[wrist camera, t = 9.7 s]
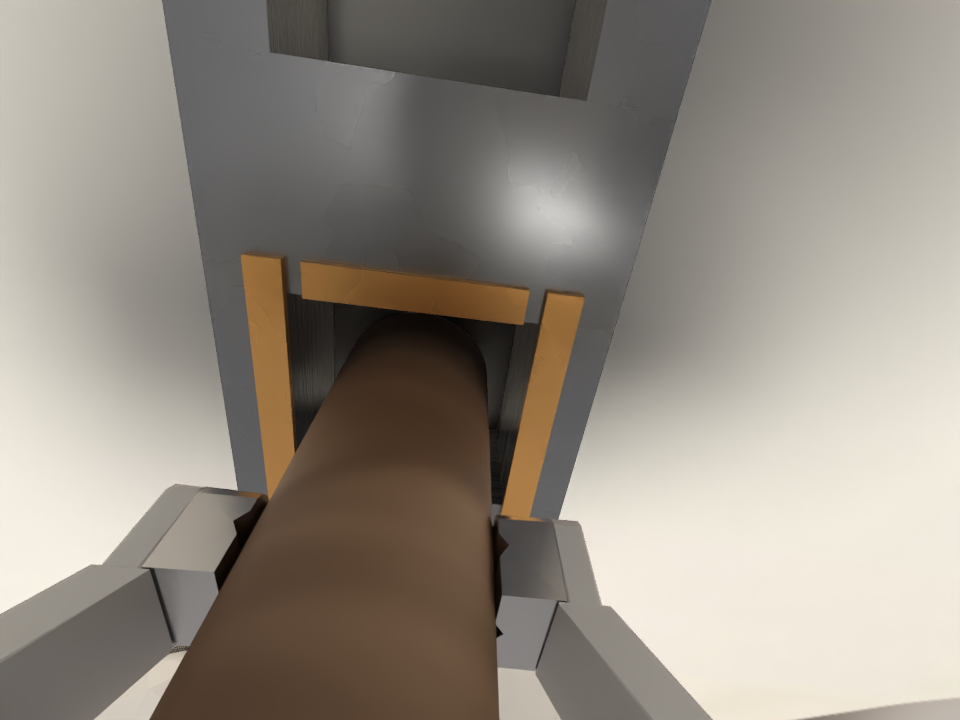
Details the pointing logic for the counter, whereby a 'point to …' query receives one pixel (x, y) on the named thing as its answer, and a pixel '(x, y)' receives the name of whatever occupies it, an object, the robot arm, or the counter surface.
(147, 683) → the ball
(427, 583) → the walnut peg
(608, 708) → the robot arm
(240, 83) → the rectangular metal frame
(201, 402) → the counter surface
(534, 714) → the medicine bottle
